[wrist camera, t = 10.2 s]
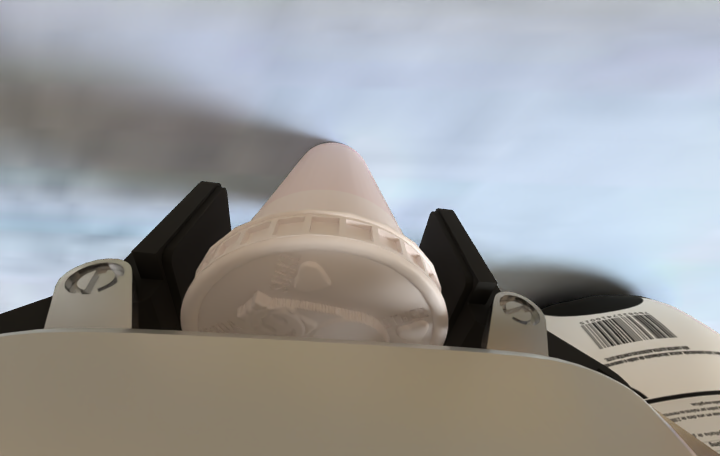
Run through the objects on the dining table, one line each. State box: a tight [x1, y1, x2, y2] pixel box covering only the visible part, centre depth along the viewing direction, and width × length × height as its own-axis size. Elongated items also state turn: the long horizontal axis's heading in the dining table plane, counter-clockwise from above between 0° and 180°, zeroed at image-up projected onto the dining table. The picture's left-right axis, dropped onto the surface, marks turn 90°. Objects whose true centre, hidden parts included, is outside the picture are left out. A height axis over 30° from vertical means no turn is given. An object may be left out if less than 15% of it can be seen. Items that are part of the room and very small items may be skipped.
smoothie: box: [180, 142, 448, 346], centre depth 9 cm, size 6×6×14 cm
